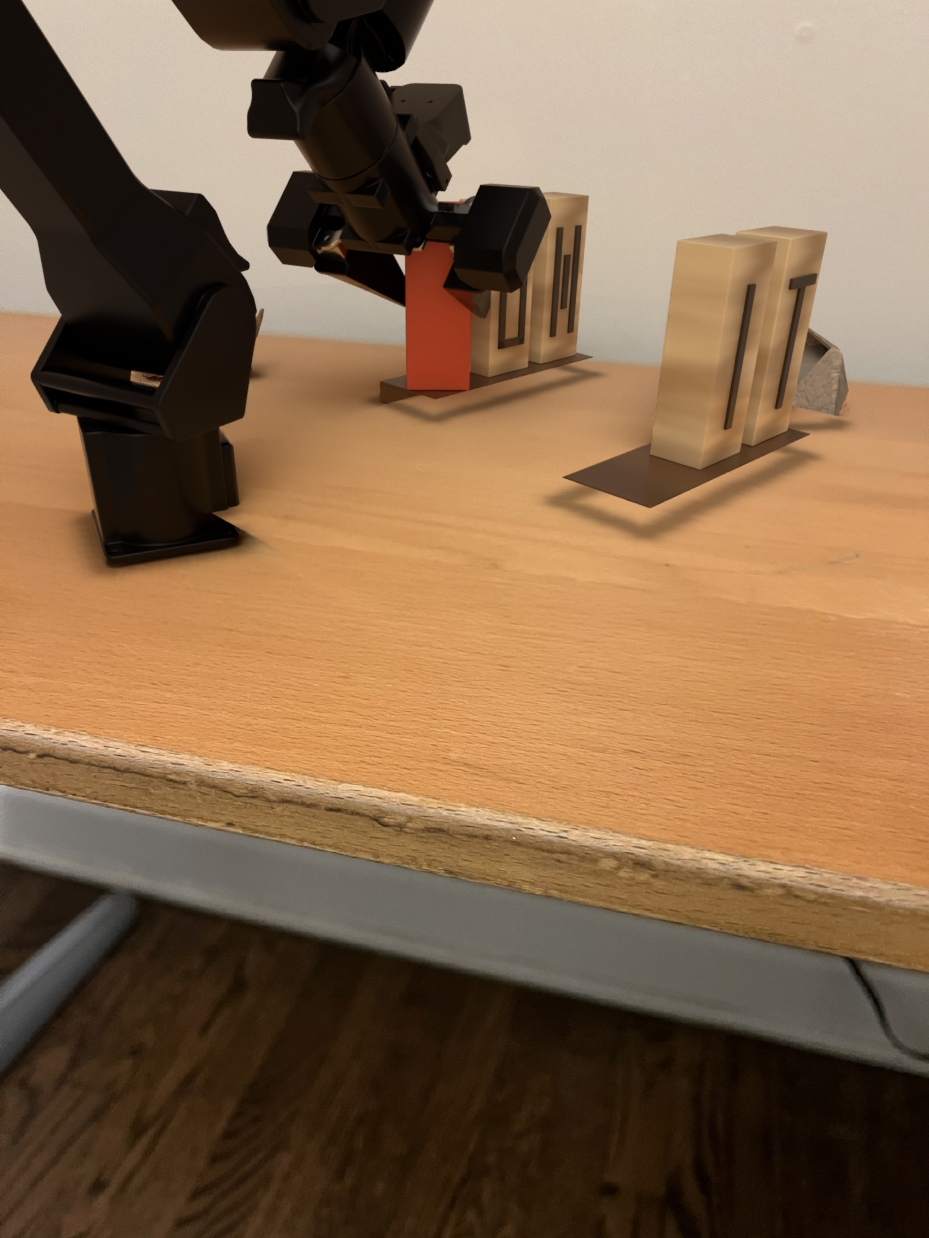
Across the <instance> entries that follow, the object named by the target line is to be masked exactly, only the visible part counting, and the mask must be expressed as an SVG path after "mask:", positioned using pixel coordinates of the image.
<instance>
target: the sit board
mask: <svg viewBox="0 0 929 1238" xmlns="http://www.w3.org/2000/svg"><path fill="white" fill-rule="evenodd" d="M827 240H828V232H827V231H824V230H816V229H815V230H814V229H806V228H798V227H789V226H781V225H770V226H764V227H756V228H750V229H744V230H737V231H735V234H728V233H715V234H710V235H702V236H696V237H690V238H684V239H683V238H682V239H677V241H676V247H675V255H674V263H673V271H672V278H671V286H670V293H669V301H668V309H667V317H666V323H665V326H666V327H665V333H664V340H663V349H662V356H661V364H660V371H659V378H658V379H659V380H658V388H657V395H656V403H655V411H654V419H653V425H652V435H651V441H650V443H647V444H645V445H644V444H643V445H642V446H639V447H636V448H634V449H631V450H629V451H626V452H624V453H621V454H618V455H615V456H613V457H611V458H608V459H605V460H603V461H600V462H598V463H597V462H596V463H594V464H592V465H590V466H587V467H584V468H582V469H579V470H576V471H574V472H571V473H569V474H566V475H563V476H562V479H565V480H568V481H571V482H573V483H576V484H579V485H582V486H585V487H587V488H591V489H594V490H596V491H599V492H602V493H605V494H608V495H611V496H613V497H617V498H619V499H622V500H625V501H627V502H630V503H633V504H636V505H639V506H642V507H644V508H647V509H652V508H654V507H656V506H660V505H661V504H664V503H666V502H668V501H669V500H672V499H673V498H676V497H679V496H681V495H683V494H685V493H687V492H689V491H691V490H693V489H696V488H698V487H700V486H702V485H704V484H706V483H708V482H710V481H711V482H712V481H714V480H715V479H717V478H720V477H722V476H723V475H726V474H727V473H730V472H733V471H734V470H737V469H739V468H741V467H743V466H746V465H747V464H749V463H753V461H756V460H758V459H761V458H762V457H765V456H767V455H769V454H771V453H773V452H776V451H777V450H779V449H782V448H784V447H787V446H789V445H791V444H792V443H795V442H797V441H799V440H801V439H804V438H805V437H808V436H810V435H811V433H809V432H805V431H801V430H798V429H793V428H790V427H789V425H790V419H791V415H792V409H793V406H792V405H793V400H794V395H795V391H796V386H797V381H798V376H799V371H800V366H801V361H802V356H803V351H804V347H805V342H806V337H807V332H808V327H809V328H810V322H811V317H812V312H813V307H814V302H815V298H816V297H815V296H816V292H817V289H818V288H817V287H818V283H819V277H820V273H821V268H822V263H823V259H824V253H825V249H826V243H827Z"/></svg>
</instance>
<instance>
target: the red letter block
mask: <svg viewBox="0 0 929 1238" xmlns="http://www.w3.org/2000/svg"><path fill="white" fill-rule="evenodd" d="M438 202H446V203H458V204H462V203H464V202H459V201H455V200H453V201H451V200H450V201H449V200H447V201H446V200H444V201H442V200H438ZM453 257H454V254H452V252H451V250H450V248H449V244H447V243H437V242H427V243H426V246H425V248H424V249H423V250H422V251H420V252H418V251H412V253H411V255H410V256H404V275H405V307H404V311H405V313H404V318H405V323H404V325H405V327H404V328H405V330H404V331H405V375H406V384H407V390H469V385H470V365H471V362H470V343H471V311H470V310H468V309H467V308H466V307H465V306H464V305H463V304H461V303H460V302H459V301H458V300H457V299H456V298H454V297H453V296H452V295H451V294H449V293H448V292H447V291H446V290H445V289H444V288H443V284H444V282H445V280H446V278H447V275H448V273H449V271H450V268H451V266H452V264H453V261H454V260H453ZM469 391H470V390H469Z"/></svg>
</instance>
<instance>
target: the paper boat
mask: <svg viewBox="0 0 929 1238" xmlns="http://www.w3.org/2000/svg"><path fill="white" fill-rule="evenodd" d="M848 393H849V384H848V378H847V372H846V366H845V361H844V355H843V353H842V351H841V349H840V347H838V346H837V345H835V344H834V343H833V342H831V341H829V340H828V339H826V338H825V337H823V336H822V335H821V334H819V333H818V332H816V331H815V330H814V329H812V328H811V327H810V326H809V327H808V332H807V337H806V342H805V347H804V351H803V356H802V361H801V366H800V371H799V376H798V381H797V386H796V391H795V395H794V400H793V405H792V407H798V408H801V409H805V410H809V411H814V412H817V413H822V414H826V415H830V416H834V417H839V416H840V413H841V410H842V408H843V406H844V403H845V400H846V398H847V396H848Z"/></svg>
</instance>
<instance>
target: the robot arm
mask: <svg viewBox="0 0 929 1238" xmlns="http://www.w3.org/2000/svg"><path fill="white" fill-rule="evenodd" d="M170 1H171V2H172V4H173V5H174V7H176V9H177V10H178V12H179V13H180V14H181V16H182V17H183V19H184V20H185V21H186V22H187V24H188V25H189V27H190V28H191V29H192V31H193V32H194V33H195V34H196V35H197V36H198V38H199V39H200V40H201V41H202V42H203V43H205V44H206V45H208V46H209V47H211V48H212V49H214V50H218V51H221V52H275V53H274V55H273V57H272V59H271V62H269V65H268V67H267V69H266V71H265V73H264V74H263V77H262V78H256V77H255V78H253V79H252V80H251V82H250V90H251V91H250V92H251V99H250V104H249V107H248V109H247V112H246V132H247V135H248V137H250V138H251V139H257V140H258V139H259V140H277V141H293V142H294V144H295V146H296V147H297V149H298V150H299V152H300V153H301V155H302V157H303V158H304V160H305V161H306V163H307V164H308V166H309V168H310V169H311V170H308V169H304V170H303V169H302V170H293V171H292V173H291V175H290V176H289V178H288V180H287V182H286V184H285V187H284V189H283V191H282V193H281V196H280V197H279V200H278V201H277V204H276V205H275V208H274V210H273V212H272V214H271V216H270V218H269V220H268V222H267V224H266V227H265V231H266V239H267V240H266V241H267V245H268V248H269V249H270V250H271V252H272V253H273V254H274V255H275V257H276V258H277V259H278V261H279V262H280V263H281V264H282V265H285V266H293V267H301V268H311V269H313V268H314V271H315V272H317V274H320V275H325V276H328V277H331V278H334V279H336V280H338V281H341V282H344V283H346V284H349V285H351V286H352V287H353V286H354V287H356V288H358V289H360V290H363V291H366V292H368V293H370V294H372V295H375V296H377V297H379V298H381V299H384V300H386V301H388V302H391V303H393V304H395V305H397V306H399V307H402V308H405V272H404V271H403V269H402V267H401V265H400V264H399V261H398V260H397V258H396V256H404V257H405V256H410V255H411V253H412V251H418V252H420V251H422V250H423V249H424V248H425V246H426V243H427V242H437V243H447V244H449V248H450V250H451V252H452V254H454V257H453V260H454V261H453V264H452V266H451V268H450V271H449V273H448V275H447V278H446V280H445V282H444V284H443V288H444V289H445V290H446V291H447V292H448V293H449V294H451V295H452V296H453V297H454V298H456V299H457V300H458V301H459V302H460V303H461V304H463V305H464V306H465V307H466V308H467V309H468V310H470V311H471V312H472V313H474V314H475V315H477V316H478V317H480V318H484V319H485V318H486V316H487V314H488V311H489V309H490V303H491V291H498V292H506V293H513V292H514V291H516V290H518V289H519V288H521V287H523V285H524V283H525V280H526V278H527V275H528V273H529V271H530V268H531V266H532V263H533V261H534V259H535V256H536V254H537V251H538V249H539V246H540V244H541V242H542V239H543V237H544V234H545V232H546V229H547V227H548V225H549V222H550V220H551V217H552V216H551V213H550V210H549V207H548V205H547V202H546V199H545V197H544V195H543V193H544V192H543V191H542V190H541V188H540V186H532V185H520V184H519V185H517V184H505V183H503V184H502V183H491V182H489V183H483V184H479V186H478V188H477V190H476V193H475V195H473V196H469V197H468V198H466V199H467V200H466V201H465V202H464V203H462V204H458V203H446V202H438V201H439V200H438V198H437V196H438V194H439V192H443V193H444V192H446V191H447V190H448V186H449V184H450V182H451V180H452V178H453V174H452V172H451V170H450V167H449V166H448V164H447V163H449V162H450V160H451V159H452V158H453V157H454V156H455V155H456V154H457V153H458V152H459V151H460V150H461V148H462V147H463V146H468V144H470V142H471V140H472V134H471V128H470V122H469V116H468V112H467V111H468V110H467V106H466V99H465V93H464V88H463V86H462V85H461V84H458V83H435V82H433V83H432V82H429V83H428V82H412V83H411V82H410V83H406V84H402V85H389V84H388V82H387V81H386V80H385V79H380V78H379V77H378V75H377V73H379V74H387V73H390V72H395V71H397V70H399V69H400V68H401V67H403V66H404V65H405V63H406V62H407V60H408V58H409V56H410V54H411V51H412V49H413V47H414V45H415V43H416V41H417V39H418V36H419V34H420V32H421V30H422V28H423V26H424V23H425V21H426V20H427V17H428V15H429V12H430V10H431V8H432V6H433V4H434V2H435V0H170ZM0 191H1V192H2V193H3V194H4V196H5V197H6V198H7V199H8V201H9V202H10V204H11V205H12V206H13V207H14V208H15V210H16V211H17V212H18V214H19V215H20V216H21V217H22V218H23V220H24V221H25V222H26V223H27V225H28V226H29V228H30V230H31V231H32V232H33V234H34V237H35V239H36V242H37V247H38V254H39V258H40V259H39V260H40V263H41V269H42V273H43V274H42V275H43V280H44V285H45V289H46V292H47V294H48V295H49V297H50V299H51V300H52V302H53V303H54V306H55V307H56V308H57V310H58V312H59V313H60V317H59V319H58V321H57V322H56V325H55V327H54V328H53V330H52V333H50V336H49V337H48V339H47V342H46V343H45V345H44V347H43V349H42V351H41V353H40V354H39V357H37V360H36V362H35V364H34V366H33V367H32V369H31V372H30V381H31V383H32V384H33V386H34V388H35V390H36V392H37V394H38V395H39V397H40V399H41V400H42V402H43V404H44V406H45V407H46V409H47V411H48V412H49V413H53V414H58V415H61V414H65V415H69V416H74V417H75V418H76V422H77V428H78V433H79V438H80V443H81V447H82V448H81V449H82V453H83V458H84V463H85V468H86V473H87V479H88V483H89V488H90V489H89V490H90V494H91V499H92V505H93V509H91V511H90V512H91V519H92V521H93V525H94V529H95V532H96V535H97V539H98V542H99V546H100V549H101V553H102V556H103V560H104V562H105V563H106V564H107V565H113V566H114V565H121V564H129V563H134V562H138V561H139V562H140V561H145V560H153V559H157V558H164V557H170V556H175V555H183V554H188V553H193V552H199V551H200V552H201V551H205V550H212V549H217V548H218V549H219V548H223V547H229V546H235V545H238V544H240V542H241V536H240V531H239V530H238V527H237V526H236V525H235V524H233V523H232V522H229V521H227V520H226V519H224V518H222V517H220V516H218V515H217V514H214V513H217V512H223V511H228V510H229V509H230V508H234V507H238V506H239V505H241V503H240V494H239V486H238V485H239V484H238V477H237V468H236V457H235V449H234V445H233V443H232V442H231V440H230V439H229V438H228V436H227V435H226V433H225V432H224V430H222V429H221V427H224V426H227V425H229V424H231V423H234V422H237V421H239V420H242V419H244V418H245V416H246V410H247V402H248V396H249V395H248V394H249V388H250V380H251V376H250V374H251V367H252V368H253V359H254V353H255V348H254V346H256V342H255V338H256V328H257V322H256V317H257V314H258V308H257V305H256V299H255V295H254V294H253V291H252V289H251V287H250V285H249V283H248V279H247V278H246V277H245V275H244V274H243V272H246V271H249V270H250V267H251V264H250V261H249V260H247V259H246V258H245V257H243V256H242V255H241V254H239V253H238V251H237V250H236V249H235V247H234V246H233V245H232V243H231V241H230V239H229V237H228V236H227V234H226V231H225V229H224V226H223V224H222V222H221V219H220V217H219V214H218V212H217V210H216V209H215V208H214V207H213V205H212V204H211V202H210V201H209V200H208V199H207V198H206V197H205V195H204V194H203V193H201V192H190V191H181V190H179V191H178V190H170V189H169V190H168V189H158V188H157V189H156V188H150V187H147V186H146V185H145V183H143V182H142V181H141V180H140V178H138V176H137V175H136V174H135V173H134V171H133V170H132V168H131V167H130V165H129V164H128V162H127V160H126V159H125V157H124V155H123V154H122V153H121V151H120V150H119V148H118V147H117V145H116V144H115V142H114V140H113V139H112V137H111V136H110V134H109V133H108V131H107V130H106V128H105V126H104V125H103V123H102V122H101V120H100V119H99V117H98V115H97V114H96V112H95V111H94V109H93V108H92V106H91V105H90V103H89V102H88V100H87V99H86V97H85V95H84V93H82V91H81V89H80V87H79V86H78V84H77V83H76V81H75V80H74V78H73V77H72V75H71V74H70V72H69V71H68V68H66V66H65V64H64V63H63V61H62V60H61V58H60V57H59V55H58V54H57V52H56V50H55V49H54V47H53V46H52V44H51V42H50V41H49V39H48V38H47V36H46V34H45V32H43V30H42V28H41V27H40V26H39V24H38V23H37V21H36V19H35V17H34V16H33V15H32V13H31V11H30V10H29V8H28V7H27V5H26V4H25V2H24V1H23V0H0ZM395 255H396V256H395ZM256 339H257V338H256ZM132 372H133V373H139V374H142V373H143V374H148V375H153V376H154V377H158V378H161V380H160V383H159V384H158V385H154V384H149V383H144V382H139V381H136V380H132V379H131V378H132ZM153 376H152V377H153Z"/></svg>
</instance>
